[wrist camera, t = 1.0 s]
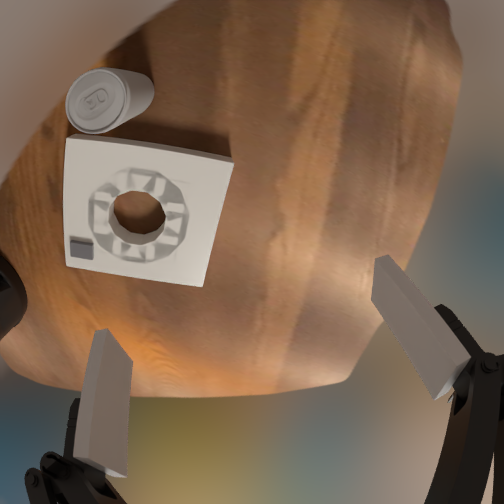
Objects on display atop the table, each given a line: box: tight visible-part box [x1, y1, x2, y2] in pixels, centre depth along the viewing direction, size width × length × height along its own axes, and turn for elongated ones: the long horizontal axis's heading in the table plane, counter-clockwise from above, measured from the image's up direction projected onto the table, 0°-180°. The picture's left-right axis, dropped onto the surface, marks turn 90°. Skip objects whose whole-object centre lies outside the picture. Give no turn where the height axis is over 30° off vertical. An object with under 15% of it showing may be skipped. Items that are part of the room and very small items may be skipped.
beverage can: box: [65, 67, 154, 134], centre depth 20 cm, size 5×5×12 cm
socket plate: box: [63, 134, 234, 287], centre depth 31 cm, size 18×16×3 cm
